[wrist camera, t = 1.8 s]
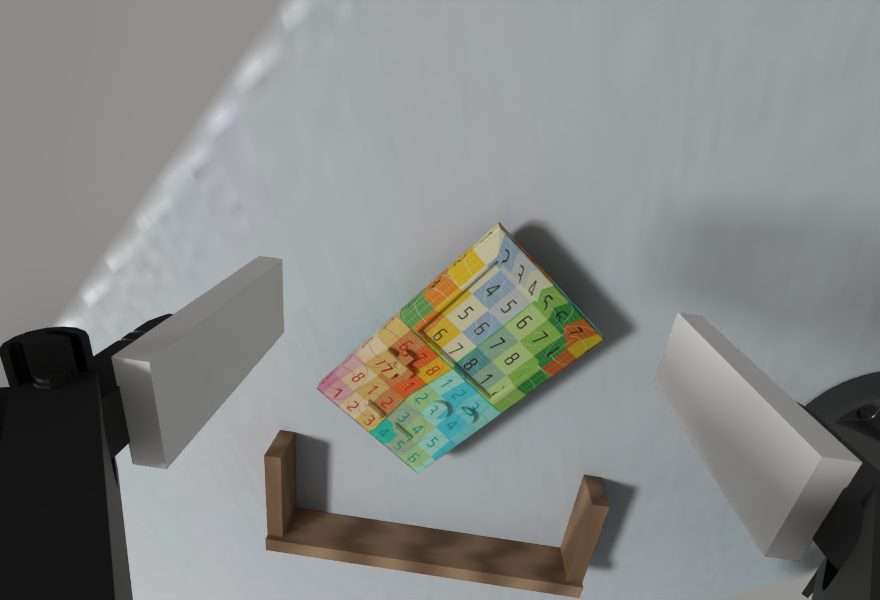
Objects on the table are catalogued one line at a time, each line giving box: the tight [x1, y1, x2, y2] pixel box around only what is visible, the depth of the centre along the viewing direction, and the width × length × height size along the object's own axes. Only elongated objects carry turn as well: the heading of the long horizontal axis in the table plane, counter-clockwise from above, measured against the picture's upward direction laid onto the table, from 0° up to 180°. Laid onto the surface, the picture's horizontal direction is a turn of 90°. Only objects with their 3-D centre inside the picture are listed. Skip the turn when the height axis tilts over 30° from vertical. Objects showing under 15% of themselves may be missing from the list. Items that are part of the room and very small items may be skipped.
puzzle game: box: [317, 222, 604, 472], centre depth 37 cm, size 12×5×20 cm
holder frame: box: [264, 430, 609, 598], centre depth 44 cm, size 31×12×4 cm, turn 83°
